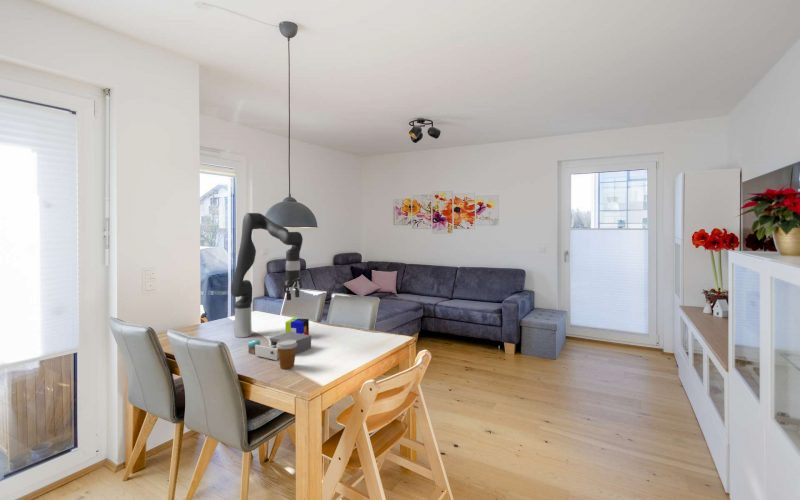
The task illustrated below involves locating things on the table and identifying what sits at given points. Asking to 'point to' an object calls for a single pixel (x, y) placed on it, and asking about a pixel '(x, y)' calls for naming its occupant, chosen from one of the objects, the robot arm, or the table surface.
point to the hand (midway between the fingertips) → (293, 298)
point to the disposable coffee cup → (286, 353)
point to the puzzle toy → (298, 326)
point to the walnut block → (251, 350)
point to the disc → (253, 343)
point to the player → (301, 339)
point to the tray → (267, 351)
